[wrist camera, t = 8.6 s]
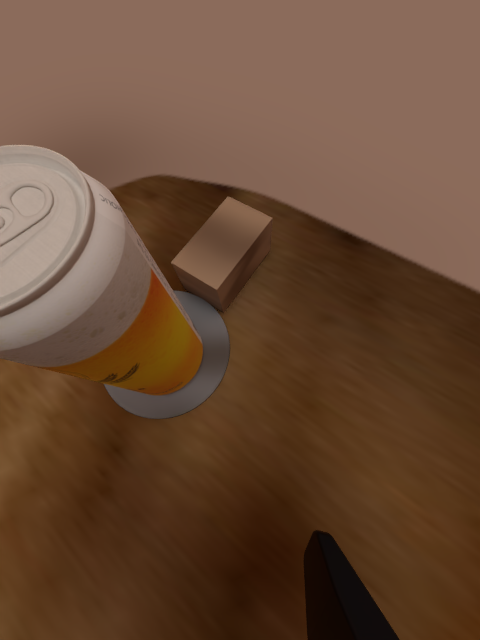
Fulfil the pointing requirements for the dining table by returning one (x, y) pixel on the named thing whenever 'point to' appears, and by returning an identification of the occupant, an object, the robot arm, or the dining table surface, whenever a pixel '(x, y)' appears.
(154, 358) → the beer can
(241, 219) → the beam vee
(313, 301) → the dining table surface
